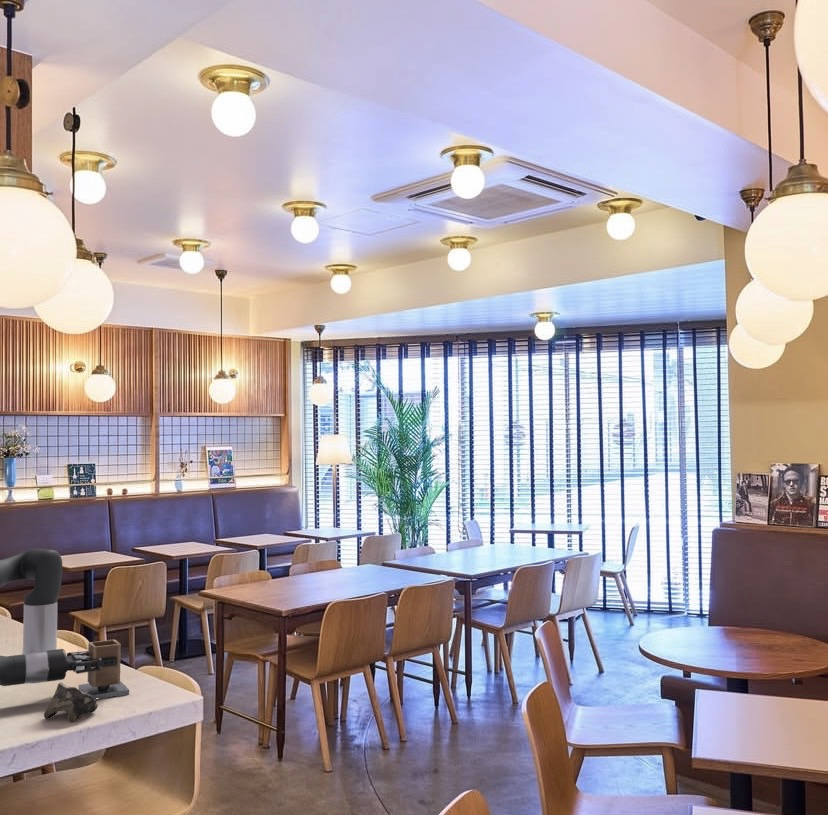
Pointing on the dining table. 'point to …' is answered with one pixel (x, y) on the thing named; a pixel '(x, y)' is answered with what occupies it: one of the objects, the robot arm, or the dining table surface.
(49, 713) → the fossil
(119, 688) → the post plate
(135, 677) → the dining table surface
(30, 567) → the robot arm
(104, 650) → the walnut sleeve
